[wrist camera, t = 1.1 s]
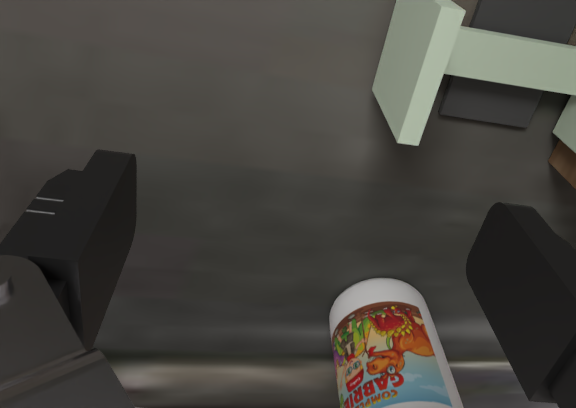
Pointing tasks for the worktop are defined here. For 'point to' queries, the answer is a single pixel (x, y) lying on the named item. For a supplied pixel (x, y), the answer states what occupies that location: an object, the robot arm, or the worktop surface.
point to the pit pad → (497, 96)
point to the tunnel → (564, 162)
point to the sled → (462, 65)
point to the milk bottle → (388, 349)
